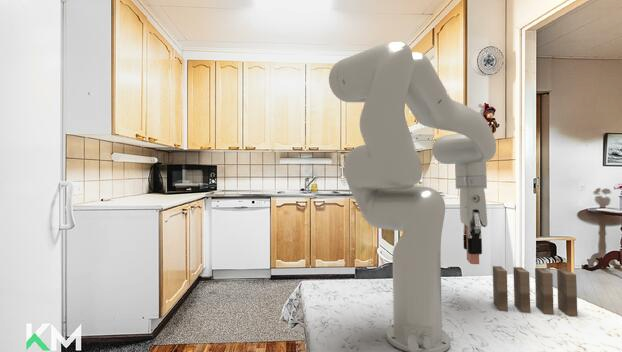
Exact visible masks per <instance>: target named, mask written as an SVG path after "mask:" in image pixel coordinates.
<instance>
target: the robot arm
mask: <svg viewBox="0 0 622 352" xmlns="http://www.w3.org/2000/svg"><path fill="white" fill-rule="evenodd" d="M328 83H329V87H330V90H331V92H332V94H333V95H334V96H335V97H336V98H337V99H338V100H341V102H345V103H364V105H363V107H362V110H361V113H360V117H359V130H360V134H361V137H362V139H363V142H364V145H359V146H356V147H353V148H352V149H351V150H350V151H349V152H348V154H347V155H346V157H345V159H344V177H345V181H346V183H347V185H348V188H349V190H350V192H351V195H352V196H353V199H354V200H355V203H356V205H357V207H358V208H359V211H360V213H361V215H362V217H363V218H364V220H365V221H366V223H367V224H368V225H370V226H371V227H373V228H376V229H381V230H389V231H391V230H392V231H398V232H402V234H401V236H400V238H399V239H398V240H397V242H396V244H395V245H394V248H393V250H392V299H393V300H392V302H393V303H392V305H393V306H392V308H393V315H392V316H393V318H392V319H393V323H392V324H391V325H389V326H388V327H387V328H386V330H385V337H386V340H387V341H388V343H390V344H391V345H392V346H393V347H395V348H396V349H398V350H402V351H404V352H446V351H447V350H449V349H450V347H451V337H450V335H449V334H448V333H447V332H446V331H445V330H443V323H442V321H443V317H442V316H443V315H442V312H443V311H442V270H441V268H442V261H441V257H442V256H441V253H442V252H441V250H442V249H441V248H442V247H441V246H442V233H443V226H444V219H445V215H446V203H445V199H444V197H443V195H442V194H441V193H439V191H437V190H436V189H433V188H432V187H427V186H421V185H420V186H418V184H419V183H420V181H421V180H422V176H423V167H422V163H421V159H420V156H419V153H418V151H417V147H416V145H415V142H414V139H413V137H412V133H411V131H410V129H409V125H408V122H407V118H406V112H405V110H406V109H405V106H407V108H408V109H409V111H410V112H411V114H412V115H413V116H414V118H415V120H416V121H417V123H419V124H420V125H422V126H424V127H428V128H432V129H436V130H442V131H447V132H454V133H451V134H445V135H442V136H440V137H438V138H436V139H435V140H434V142H433V144H432V149H431V150H432V156H433V157H434V159H435V160H436V161H437V162H439V163H441V164H444V165H454V170H455V171H454V174H455V182H454V183H455V189H456V190H457V189H458V190H459V217H460V218H459V219H460V222H461V223H462V224H463V239H462V240H463V249H464V250H466V251H467V241H466V226H468V231H469V238H468V253H469V254H479V255H482V254H483V242H482V241H483V240H482V227H483V228H486V227H487V226H488V214H487V201H486V200H487V199H486V193H485V192H486V191H485V189H488V187H487V186H488V183H487V182H488V180H487V162H488V161H490V160H492V159H493V158H494V156H495V155H496V152H497V141H496V138H495V134H494V133H493V131H492V129H491V126H490V125H489V122H488V121H487V119H486V118H485V116H483V115H482V114H481V113H479V112H478V111H476V110H475V109H474V108H471V107H469V106H468V105H465V104H463V103H461V102H459V101H456V100H453V99H452V98H451V96H450V94H449V93H448V91H447V89H446V87H445V85H444V84H443V82H442V80H441V79H440V77H439V75H438V73H437V71H436V70H435V67H434V66H433V64H432V63H431V61H430V58H429V57H428V56H427V55H425V54H424V53H423V52H417V51H412V49H411V47H410V45H408V44H407V43H405V42H403V41H391V42H386V43H382V44H379V45H376V46H374V47H370V48H368V49H365V50H364V51H361V52H358V53H355V54H353V55H351V56H348V57H345V58H343V59H341V60H339V61H337V62H336V63H335V64H334V65H333V66H332V67H331V69H330V71H329V75H328ZM471 224H473V225H474V226H470V225H471ZM471 229H472V230H471Z"/></svg>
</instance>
